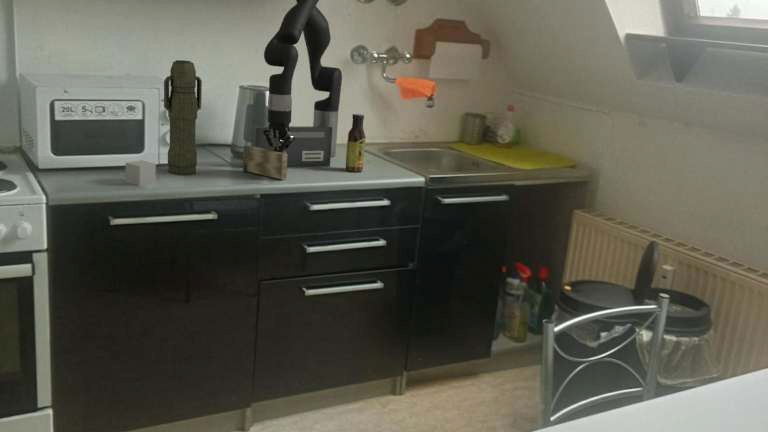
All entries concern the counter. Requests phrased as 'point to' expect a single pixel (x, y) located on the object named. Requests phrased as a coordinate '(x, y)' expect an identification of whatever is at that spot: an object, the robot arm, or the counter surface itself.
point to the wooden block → (265, 162)
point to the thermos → (182, 116)
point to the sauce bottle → (356, 145)
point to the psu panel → (302, 145)
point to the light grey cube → (140, 173)
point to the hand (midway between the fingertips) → (278, 160)
